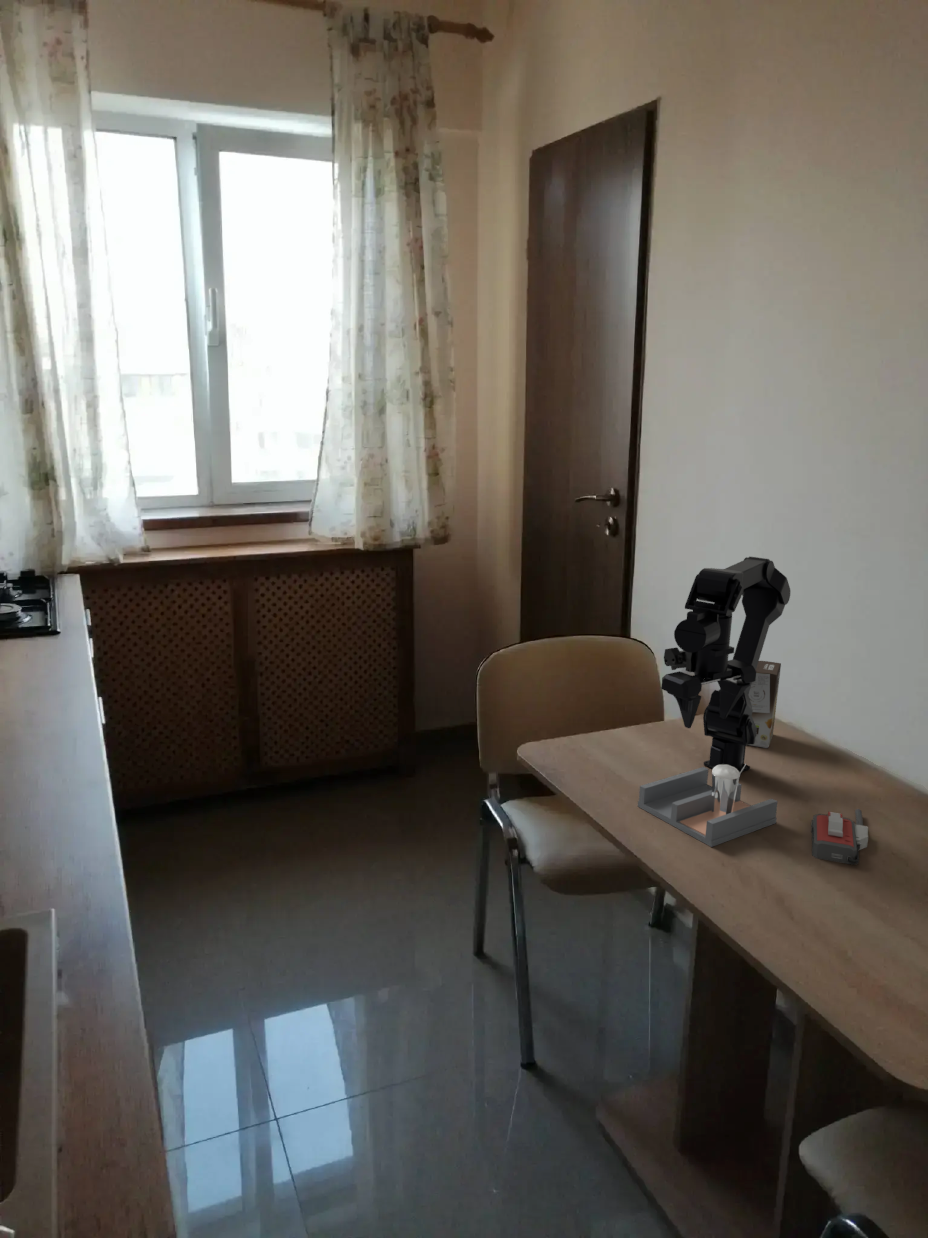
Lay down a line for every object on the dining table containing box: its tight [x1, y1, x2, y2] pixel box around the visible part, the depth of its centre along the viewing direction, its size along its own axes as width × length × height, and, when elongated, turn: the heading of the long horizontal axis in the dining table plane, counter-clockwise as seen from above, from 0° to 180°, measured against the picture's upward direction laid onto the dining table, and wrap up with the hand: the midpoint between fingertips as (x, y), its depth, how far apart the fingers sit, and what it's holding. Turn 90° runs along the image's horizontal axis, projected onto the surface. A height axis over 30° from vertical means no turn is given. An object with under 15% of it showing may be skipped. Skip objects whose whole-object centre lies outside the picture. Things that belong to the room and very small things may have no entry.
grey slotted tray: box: [637, 766, 778, 848], centre depth 160 cm, size 16×17×4 cm
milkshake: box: [711, 763, 747, 818], centre depth 156 cm, size 4×5×10 cm
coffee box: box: [747, 660, 782, 749], centre depth 193 cm, size 9×6×16 cm
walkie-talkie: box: [810, 808, 869, 866], centre depth 153 cm, size 9×4×20 cm
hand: (705, 722), depth 167 cm, fingers open, 9 cm apart
